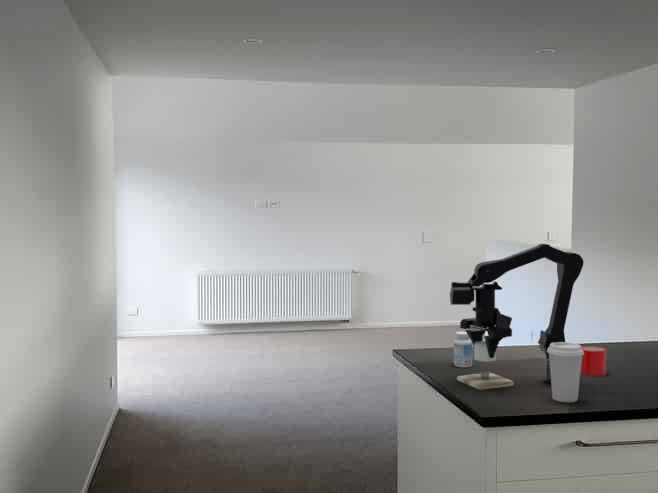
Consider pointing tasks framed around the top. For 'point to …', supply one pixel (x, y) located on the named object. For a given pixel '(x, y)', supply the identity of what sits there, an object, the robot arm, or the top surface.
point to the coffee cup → (565, 370)
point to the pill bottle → (462, 350)
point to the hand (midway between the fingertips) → (485, 355)
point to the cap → (482, 352)
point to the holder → (485, 380)
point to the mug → (593, 361)
